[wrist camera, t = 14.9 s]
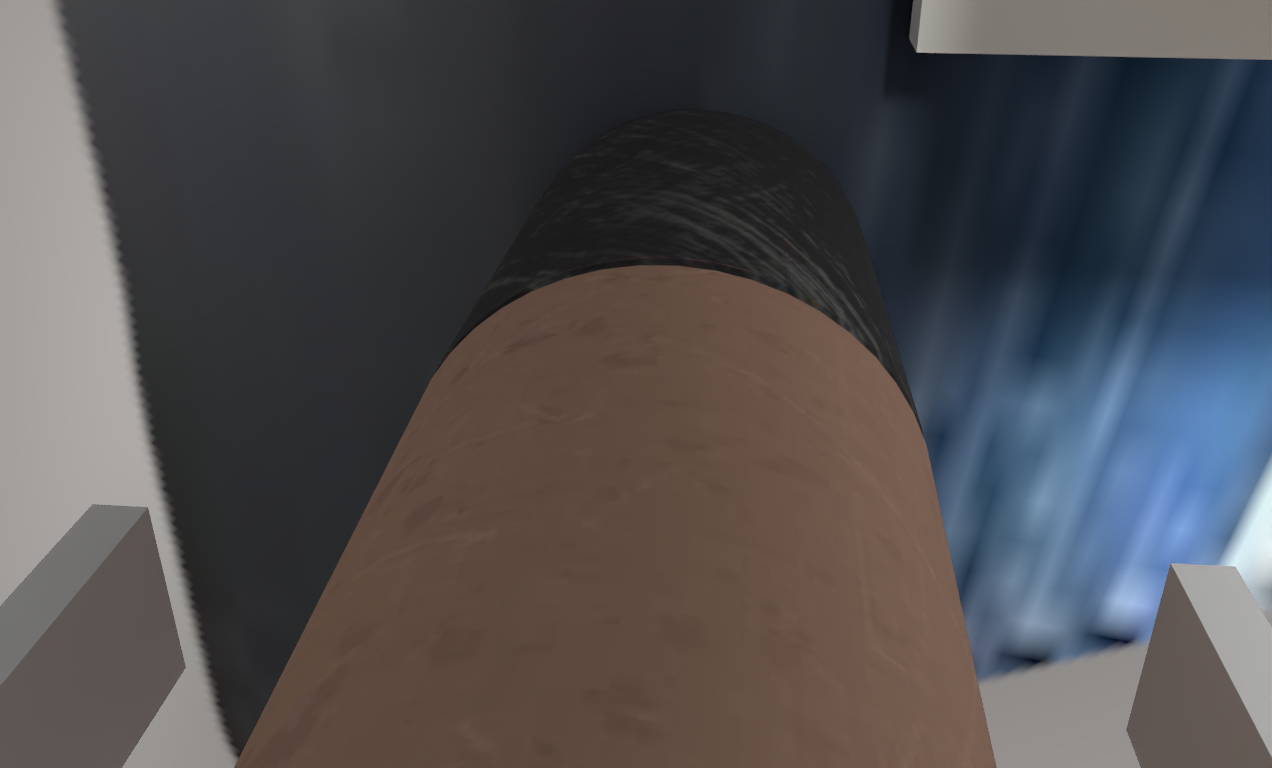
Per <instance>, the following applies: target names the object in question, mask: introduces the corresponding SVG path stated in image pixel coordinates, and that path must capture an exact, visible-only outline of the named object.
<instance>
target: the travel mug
mask: <svg viewBox="0 0 1272 768" xmlns="http://www.w3.org/2000/svg"><path fill="white" fill-rule="evenodd" d="M234 768H996V764H995V759H994V754H993V750H992V745H991V740H990V736H989V731H988V727H987V722H986V717H985V713H984V708H983V703H982V699H981V695H980V690H979V685H978V680H977V676H976V671H975V667H974V662H973V657H972V653H971V648H970V644H969V639H968V634H967V630H966V625H965V621H964V616H963V611H962V607H961V602H960V598H959V593H958V588H957V584H956V579H955V575H954V570H953V565H952V561H951V556H950V552H949V547H948V542H947V538H946V533H945V529H944V524H943V519H942V515H941V510H940V506H939V501H938V496H937V492H936V487H935V483H934V478H933V473H932V469H931V464H930V460H929V455H928V450H927V446H926V443H925V440H924V436H923V432H922V428H921V424H920V421H919V418H918V414H917V411H916V408H915V404H914V401H913V398H912V394H911V391H910V388H909V384H908V381H907V378H906V374H905V371H904V368H903V364H902V361H901V358H900V354H899V351H898V348H897V344H896V341H895V338H894V334H893V331H892V328H891V324H890V321H889V318H888V315H887V311H886V308H885V305H884V301H883V298H882V295H881V291H880V288H879V285H878V281H877V278H876V275H875V271H874V268H873V265H872V261H871V258H870V255H869V252H868V249H867V246H866V243H865V240H864V237H863V234H862V231H861V229H860V226H859V223H858V221H857V218H856V216H855V213H854V211H853V209H852V207H851V205H850V203H849V201H848V199H847V198H846V196H845V194H844V192H843V190H842V189H841V187H840V186H839V184H838V183H837V182H836V180H835V179H834V178H833V176H832V175H831V174H830V172H829V171H828V170H827V169H826V168H825V167H824V166H823V165H822V164H821V163H820V162H819V161H818V160H817V159H816V158H815V157H814V156H813V155H812V154H811V153H810V152H809V151H807V150H806V149H805V148H803V147H802V146H801V145H799V144H798V143H797V142H796V141H794V140H793V139H791V138H789V137H788V136H786V135H784V134H782V133H781V132H779V131H777V130H775V129H773V128H771V127H769V126H766V125H764V124H761V123H759V122H756V121H754V120H752V119H748V118H744V117H740V116H736V115H733V114H729V113H721V112H713V111H705V110H691V111H674V112H667V113H659V114H655V115H651V116H647V117H644V118H640V119H636V120H634V121H631V122H629V123H627V124H624V125H622V126H619V127H617V128H615V129H613V130H611V131H609V132H608V133H606V134H604V135H603V136H601V137H599V138H598V139H596V140H594V141H593V142H592V143H590V144H589V145H588V146H587V147H585V148H584V149H583V150H582V151H580V152H579V153H578V154H577V155H576V156H575V157H574V158H573V159H572V160H571V161H570V162H569V163H568V164H567V165H566V166H565V167H564V168H563V169H562V170H561V172H560V173H559V174H558V175H557V177H556V178H555V179H554V181H553V182H552V184H551V185H550V186H549V188H548V189H547V191H546V192H545V193H544V195H543V196H542V198H541V199H540V201H539V203H538V204H537V206H536V207H535V209H534V210H533V212H532V213H531V215H530V217H529V218H528V220H527V222H526V223H525V225H524V226H523V228H522V230H521V231H520V233H519V235H518V236H517V238H516V240H515V241H514V243H513V245H512V246H511V248H510V250H509V251H508V253H507V254H506V256H505V258H504V259H503V261H502V263H501V264H500V266H499V268H498V269H497V271H496V273H495V274H494V276H493V278H492V279H491V281H490V282H489V284H488V286H487V287H486V289H485V291H484V292H483V294H482V296H481V297H480V299H479V301H478V302H477V304H476V306H475V307H474V309H473V310H472V312H471V314H470V315H469V317H468V319H467V320H466V322H465V324H464V325H463V327H462V329H461V330H460V332H459V333H458V335H457V337H456V338H455V340H454V342H453V343H452V345H451V347H450V348H449V350H448V352H447V353H446V355H445V357H444V358H443V360H442V361H441V363H440V365H439V367H438V369H437V371H436V372H435V374H434V376H433V377H432V379H431V381H430V383H429V385H428V386H427V388H426V390H425V392H424V394H423V396H422V398H421V400H420V402H419V404H418V406H417V408H416V410H415V412H414V414H413V416H412V418H411V420H410V422H409V424H408V426H407V428H406V429H405V431H404V433H403V435H402V437H401V439H400V441H399V443H398V445H397V447H396V449H395V451H394V453H393V455H392V457H391V459H390V461H389V463H388V465H387V467H386V469H385V471H384V473H383V475H382V477H381V479H380V481H379V483H378V485H377V487H376V489H375V491H374V493H373V495H372V497H371V499H370V501H369V503H368V505H367V507H366V508H365V510H364V512H363V514H362V516H361V518H360V520H359V522H358V524H357V526H356V528H355V530H354V532H353V534H352V536H351V538H350V540H349V542H348V544H347V546H346V548H345V550H344V552H343V554H342V556H341V558H340V560H339V562H338V564H337V566H336V568H335V570H334V572H333V574H332V576H331V578H330V580H329V582H328V584H327V586H326V588H325V589H324V591H323V593H322V595H321V597H320V599H319V601H318V603H317V605H316V607H315V609H314V611H313V613H312V615H311V617H310V619H309V621H308V623H307V625H306V627H305V629H304V631H303V633H302V635H301V637H300V639H299V641H298V643H297V645H296V647H295V649H294V651H293V653H292V655H291V657H290V659H289V661H288V663H287V665H286V667H285V668H284V670H283V672H282V674H281V676H280V678H279V680H278V682H277V684H276V686H275V688H274V690H273V692H272V694H271V696H270V698H269V700H268V702H267V704H266V706H265V708H264V710H263V712H262V714H261V716H260V718H259V720H258V722H257V724H256V726H255V728H254V730H253V732H252V734H251V736H250V738H249V740H248V742H247V744H246V746H245V748H244V749H243V751H242V753H241V755H240V757H239V759H238V761H237V763H236V765H235V767H234Z"/></svg>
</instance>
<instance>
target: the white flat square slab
mask: <svg viewBox="0 0 1272 768" xmlns="http://www.w3.org/2000/svg"><path fill="white" fill-rule="evenodd" d="M909 39H910V41H911V43H912V45H913V47H914V49H915V51H916V53H959V54H1008V55H1057V56H1106V57H1156V58H1205V59H1254V60H1272V0H913V6H912V15H911V25H910V34H909Z"/></svg>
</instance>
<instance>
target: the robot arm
mask: <svg viewBox="0 0 1272 768" xmlns="http://www.w3.org/2000/svg"><path fill="white" fill-rule="evenodd" d="M184 669H185V663H184V658H183V654H182V650H181V646H180V642H179V638H178V633H177V629H176V625H175V621H174V616H173V612H172V608H171V603H170V599H169V595H168V591H167V586H166V583H165V578H164V574H163V570H162V565H161V561H160V557H159V553H158V549H157V544H156V540H155V536H154V531H153V528H152V523H151V519H150V515H149V510H148V508H147V507H128V506H110V505H92V506H91V507H90V508H89V509H88V510H87V511H86V512H85V513H84V515H83V516H82V517H81V518H80V519H79V520H78V521H77V522H76V523H75V524H74V526H73V527H72V528H71V529H70V530H69V531H68V532H67V533H66V534H65V536H64V537H63V538H62V539H61V540H60V541H59V542H58V543H57V544H56V545H55V547H54V548H53V549H52V550H51V551H50V552H49V553H48V554H47V555H46V556H45V558H44V559H43V560H42V561H41V562H40V563H39V564H38V565H37V567H36V568H35V569H34V570H33V571H32V572H31V573H30V574H29V575H28V576H27V578H25V580H24V581H23V582H22V583H21V584H20V585H19V586H18V587H17V589H15V591H14V592H13V593H12V594H11V595H10V596H9V597H8V599H6V601H5V602H4V603H3V604H2V605H1V606H0V768H122V766H123V765H124V763H125V762H126V760H127V758H128V757H129V755H130V754H131V752H132V751H133V749H134V747H135V746H136V744H137V743H138V741H139V740H140V738H141V737H142V735H143V733H144V732H145V730H146V729H147V727H148V726H149V724H150V722H151V721H152V719H153V718H154V716H155V715H156V713H157V712H158V710H159V708H160V707H161V705H162V704H163V702H164V700H165V699H166V697H167V696H168V694H169V693H170V691H171V690H172V688H173V686H174V685H175V683H176V682H177V680H178V679H179V677H180V675H181V674H182V672H183V671H184ZM1127 732H1128V735H1129V738H1130V740H1131V743H1132V745H1133V748H1134V750H1135V753H1136V756H1137V758H1138V761H1139V764H1140V766H1141V768H1272V627H1271V626H1270V624H1269V622H1268V621H1267V619H1266V617H1265V616H1264V614H1263V612H1262V611H1261V609H1260V607H1259V606H1258V604H1257V602H1256V601H1255V599H1254V597H1253V596H1252V594H1251V592H1250V591H1249V589H1248V587H1247V586H1246V584H1245V582H1244V581H1243V579H1242V577H1241V576H1240V574H1239V572H1238V571H1237V569H1236V567H1231V566H1212V565H1194V564H1176V563H1171V564H1170V568H1169V572H1168V575H1167V579H1166V583H1165V587H1164V590H1163V594H1162V598H1161V602H1160V606H1159V609H1158V613H1157V617H1156V621H1155V624H1154V628H1153V632H1152V636H1151V639H1150V643H1149V647H1148V651H1147V655H1146V658H1145V662H1144V666H1143V670H1142V673H1141V677H1140V681H1139V685H1138V689H1137V692H1136V696H1135V699H1134V703H1133V707H1132V711H1131V714H1130V718H1129V722H1128V726H1127Z"/></svg>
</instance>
